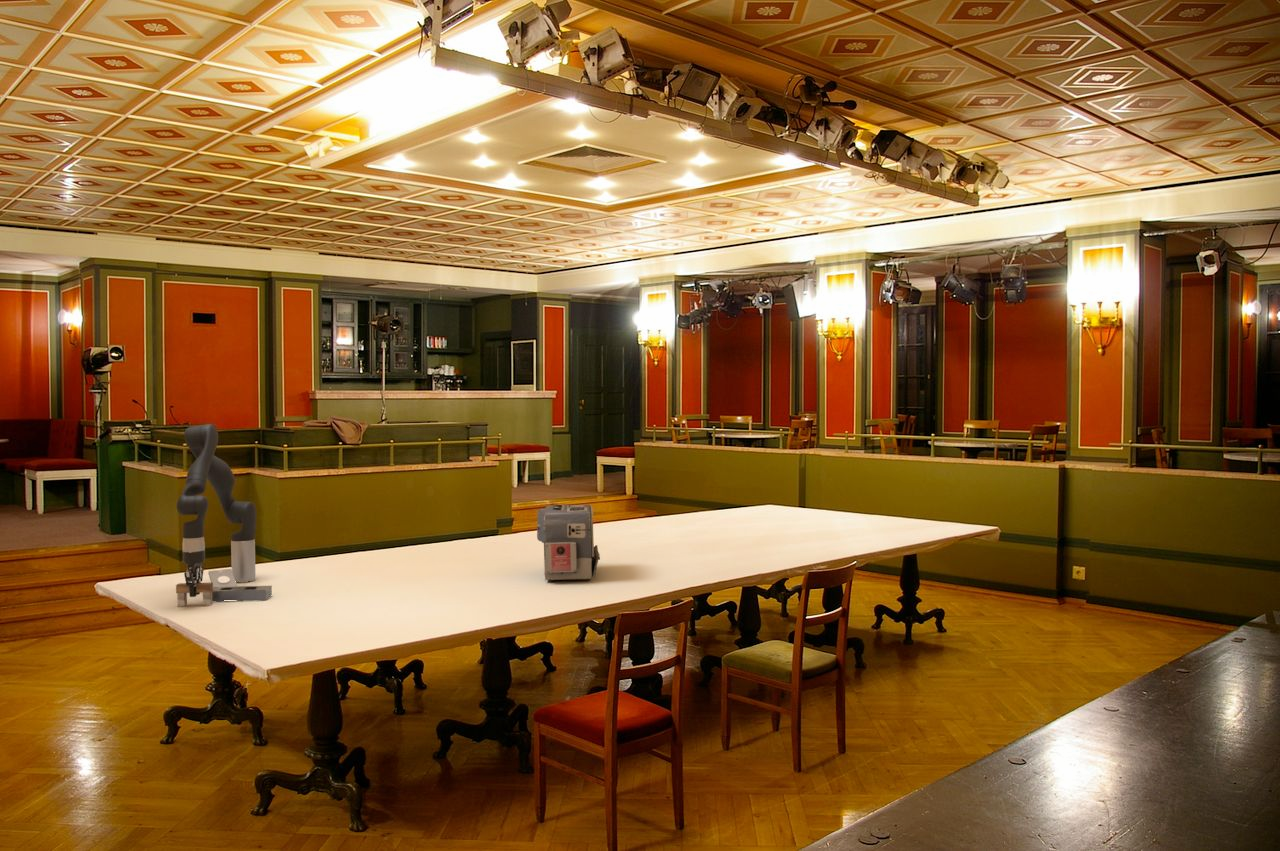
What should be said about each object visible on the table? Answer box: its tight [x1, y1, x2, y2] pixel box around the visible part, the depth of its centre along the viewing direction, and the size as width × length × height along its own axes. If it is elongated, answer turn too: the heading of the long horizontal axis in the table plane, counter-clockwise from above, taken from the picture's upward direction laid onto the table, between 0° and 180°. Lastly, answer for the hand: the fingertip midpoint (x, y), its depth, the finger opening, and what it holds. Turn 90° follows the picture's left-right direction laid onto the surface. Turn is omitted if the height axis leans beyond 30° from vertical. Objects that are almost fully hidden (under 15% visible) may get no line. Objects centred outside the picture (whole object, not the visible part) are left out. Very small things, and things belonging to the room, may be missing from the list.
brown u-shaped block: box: [175, 582, 213, 607], centre depth 351 cm, size 3×12×8 cm, turn 96°
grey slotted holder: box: [212, 585, 273, 601], centre depth 362 cm, size 8×22×4 cm, turn 96°
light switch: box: [207, 568, 238, 587], centre depth 376 cm, size 8×6×14 cm
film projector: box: [536, 504, 601, 583], centre depth 403 cm, size 39×29×30 cm
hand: (194, 595), depth 351 cm, fingers closed on brown u-shaped block, 3 cm apart
